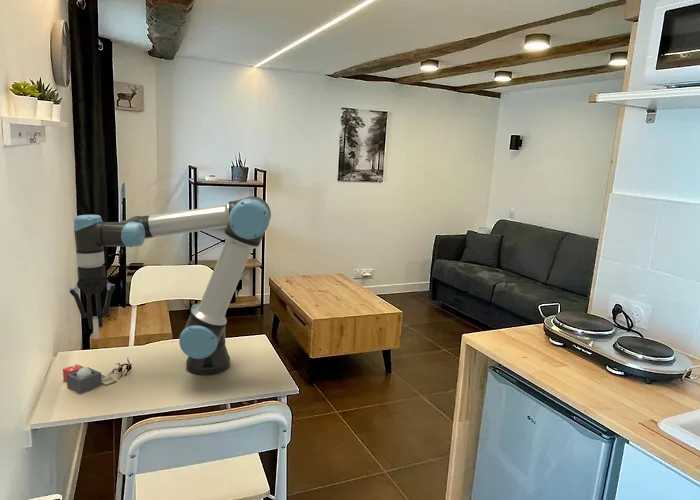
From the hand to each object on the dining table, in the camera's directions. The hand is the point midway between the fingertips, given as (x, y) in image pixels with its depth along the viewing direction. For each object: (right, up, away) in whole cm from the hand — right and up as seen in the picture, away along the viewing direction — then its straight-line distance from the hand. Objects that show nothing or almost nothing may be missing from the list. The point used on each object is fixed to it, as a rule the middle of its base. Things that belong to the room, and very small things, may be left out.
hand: (96, 337), depth 154 cm
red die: (-10, -15, +4) cm, 18 cm away
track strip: (-6, -14, +8) cm, 18 cm away
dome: (-4, -14, 0) cm, 14 cm away
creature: (+3, -15, +9) cm, 18 cm away
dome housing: (-4, -16, 0) cm, 16 cm away
